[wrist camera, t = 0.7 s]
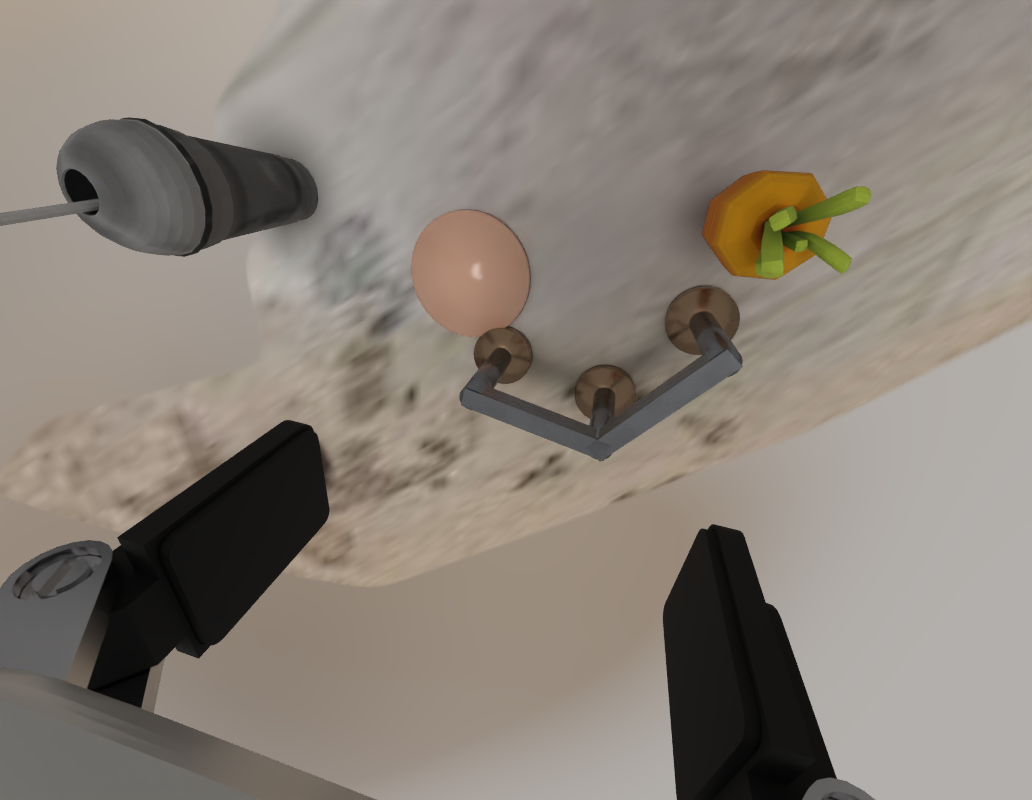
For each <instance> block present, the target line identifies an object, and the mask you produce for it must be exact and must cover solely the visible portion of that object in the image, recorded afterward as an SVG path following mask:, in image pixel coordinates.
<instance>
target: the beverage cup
mask: <svg viewBox="0 0 1032 800" xmlns="http://www.w3.org/2000/svg"><path fill="white" fill-rule="evenodd" d="M56 169H57V175H58V180H59V185H60V187H61V190H62V193H63V195H64V197H65V198H66V200H67V202H68V203H66V204H59V205H53V206H46V207H39V208H32V209H26V210H18V211H11V212H4V213H0V226H3V225H8V224H15V223H21V222H27V221H33V220H39V219H46V218H52V217H58V216H64V215H70V214H77V215H78V216H79V217H80V218H81V219H82V220H83V221H84V222H85V223H86V224H88V225H89V226H90V227H91V228H92V229H94V230H95V231H96V232H97V233H99V234H100V235H102V236H104V237H106V238H108V239H109V240H111V241H113V242H115V243H117V244H119V245H121V246H124V247H126V248H129V249H132V250H135V251H139V252H144V253H150V254H157V255H175V256H183V257H185V256H188V255H192V254H195V253H198V252H199V251H200V250H201V249H205V248H208V247H210V246H213V245H215V244H217V243H220V242H221V241H222V240H226V239H229V238H234V237H238V236H241V235H245V234H250V233H254V232H258V231H262V230H266V229H270V228H274V227H278V226H282V225H286V224H290V223H293V222H297V221H298V220H302V219H306V218H308V217H310V216H311V215H312V214H313V213H314V211H315V209H316V207H317V200H318V195H317V188H316V185H315V182H314V180H313V178H312V176H311V175H310V173H309V172H308V170H307V169H306V168H305V167H304V166H303V165H301V164H300V163H298V162H296V161H294V160H292V159H287V158H283V157H280V156H278V155H274V154H269V153H265V152H260V151H255V150H251V149H246V148H242V147H237V146H232V145H228V144H223V143H218V142H214V141H209V140H204V139H199V138H195V137H191V136H187V135H185V134H183V133H180V132H178V131H175V130H172V129H170V128H167V127H164V126H161V125H156V124H154V123H152V122H150V121H148V120H146V119H139V118H122V119H120V120H103V121H98V122H95V123H92V124H90V125H87V126H85V127H83V128H81V129H79V130H77V131H76V132H74V133H73V134H71V135H70V136H69V138H68V139H67V140H66V142H65V143H64V145H63V146H62V148H61V150H60V151H59V155H58V160H57V168H56Z"/></svg>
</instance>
